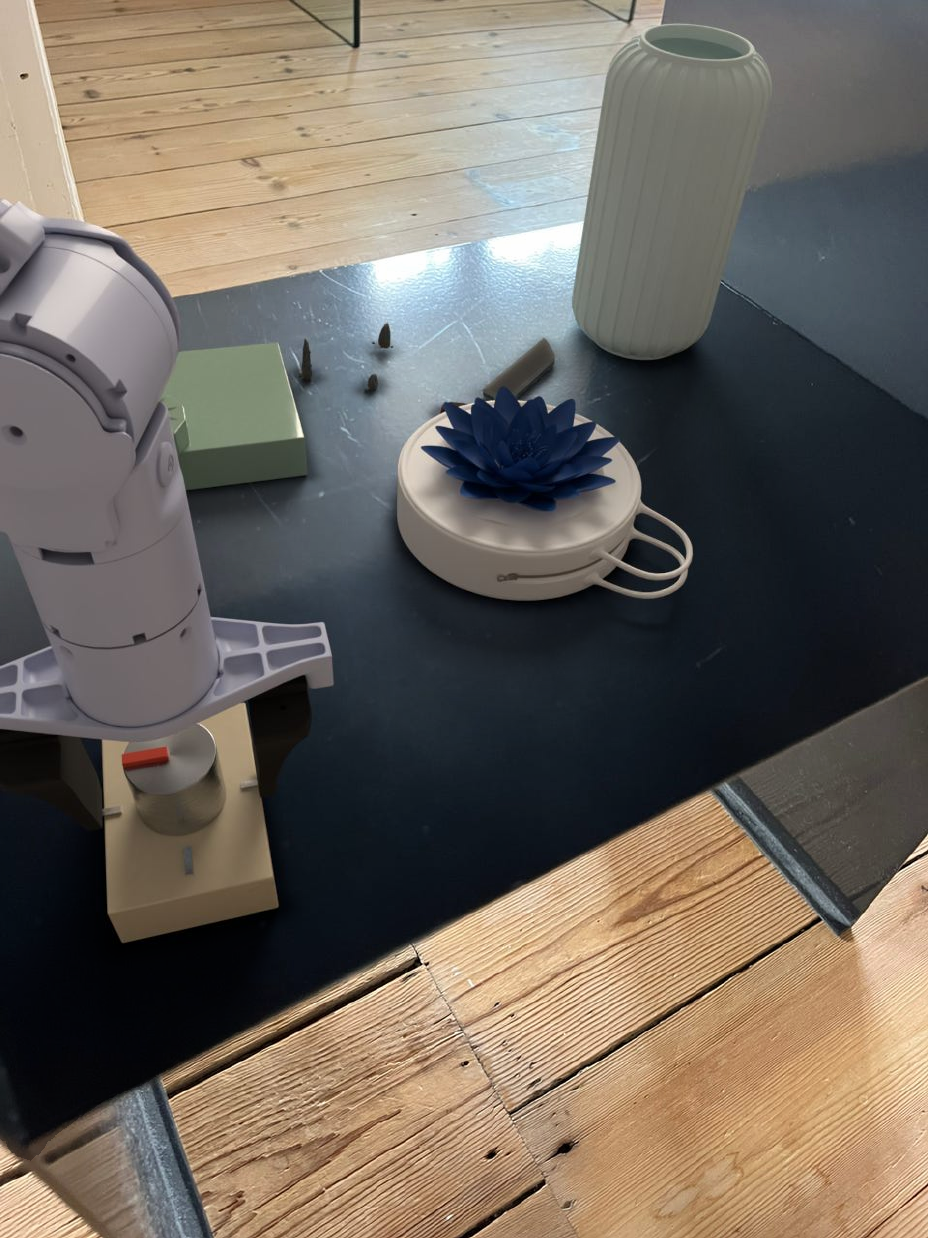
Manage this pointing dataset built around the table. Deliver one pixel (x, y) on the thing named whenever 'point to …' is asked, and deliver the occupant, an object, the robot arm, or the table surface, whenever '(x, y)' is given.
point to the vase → (667, 186)
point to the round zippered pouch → (523, 501)
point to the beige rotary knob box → (188, 847)
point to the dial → (176, 780)
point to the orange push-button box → (234, 416)
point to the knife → (520, 372)
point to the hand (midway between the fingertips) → (181, 794)
